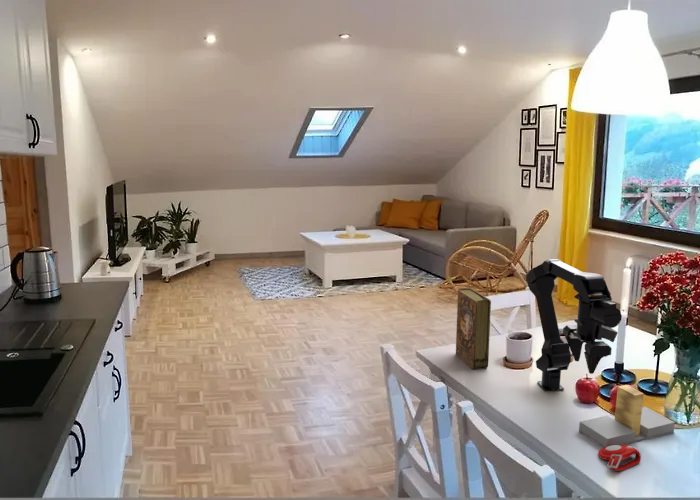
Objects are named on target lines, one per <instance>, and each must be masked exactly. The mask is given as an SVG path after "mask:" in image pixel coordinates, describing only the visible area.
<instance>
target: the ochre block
mask: <svg viewBox="0 0 700 500" xmlns="http://www.w3.org/2000/svg"><path fill="white" fill-rule="evenodd" d="M615 400H616V401H615V411H614V420H616V421H618V422H619V423H621V424H623V425H624V426H626V427H628V428H630V429H631V430H633V431H635V432H636V433H635V435H639V433H640V424H641V414H642V407H643V404H644V403H643V402H644V393H643V392H641V391H639V390H637V389H635V388H633V387H631V386H629V385H628V384H625V385H618V386H617V391H616V399H615Z"/></svg>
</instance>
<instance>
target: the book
mask: <svg viewBox="0 0 700 500" xmlns="http://www.w3.org/2000/svg"><path fill="white" fill-rule="evenodd" d="M491 306H492V301H491V299H490V298H488V297H487V296H485V295H483V294H481V293H479V292H478V291H477V290H475V289H472V288H467V287H465V288H458V289H457V306H456V309H457V312H456V334H455V336H456V338H455V339H456V340H455V356H457V357H458V358H459V359H460V360H461V361H462V362H463V363H465V364H466V365H467V366H468V367H469V368H470V369H472V370H475V369H477V368H486V369H487V368H488V366H489V355H490V335H491V334H490V332H491V330H490V329H491V309H492V307H491Z"/></svg>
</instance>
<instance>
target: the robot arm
mask: <svg viewBox="0 0 700 500" xmlns="http://www.w3.org/2000/svg"><path fill="white" fill-rule="evenodd" d="M557 278H559V279H561V280H562V281H564V282H567V283H568V284H570V285H572V288H573V290H574V291H575V292H576V293H577V294H575V295H573V296H574V299H577V300H578V306H577V317H574V322H575V324H568V325H567V324H566V325H565V326H564V327H563V329H562V330H563V331H562V335H564V338H565V340H566V342H565V341H564V340H562V338H561V334H560V329H559V324H558V319H557V316H556V315H557V314H556V310H555V304H554V300H553V296H552V295H553V291H554V288H555V285H556V284H555V281H556V280H557ZM525 280H526V283H527V286H528V289H529V291H530V292H531V293H532V295H534V297H535V298H536V304H537V308H538V309H537V310H538V315H539V318H540V324H541V328H542V329H541V330H542V335H543V339H544V342H543V344H542V347H541V356H540V357H539V358H537V359H536V360H535V365H536V366H535V367H536V368H537V369H538V370H539V371H541V380H538V381H537V384H538V385H539V387H540V388H541V389H543V391H545V392H546V391H548V392H549V391H551V392H552V391H564V390H565V387H563V386H562V385H561V374H562V371H567V370H568V368H569V365H570V363H571V362H572V357H573V360H574V362H580V358H581V353H582V349H583V344H584V343H585V344H584V352H583V353H584V354H583V355H584V358H585V361H586V366H587V370H588V373H589V374H594V373H595V371H596V369H597V367H598V365H599V363H600V361H601V360H602V358H605V357H606V358H607V357H608V356H611V355H612V349H613V348H612V347H611V346H610V345H609V344H608V343H606V342H605V341H602V339H604V340H607V341H610V342H612V343H614V341H616V338H617V335H618V331H616V330H615V329H614V328H616V327H617V326H619V325H620V323H621V321H622V319H623V318H622V317H623V315H622V312H621V310H620V309H619V308H617V303H615V302H611V301H612V300H613V299H612V296H611V292H610V290H609V288H608V286H607V283H606V280H605V277H603V275H602V274H599V273H594V272H588V271H587V272H584V271H581V270H579V269H578V268H575V267H573V266H571V265H569V264H567V263H564V262H563V261H562V260H561V259H559V258H555V259H553V258H552V259H546V260H544V261H543V262H542V263H540V264H539V265H537V266H535V267H533V268H531V269H529V271H528V272H527V273H526V276H525Z"/></svg>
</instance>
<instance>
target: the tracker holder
mask: <svg viewBox="0 0 700 500" xmlns="http://www.w3.org/2000/svg"><path fill="white" fill-rule="evenodd" d="M597 454H598V456H599V458H600V459H602V460H606V461H608V462H607V465H606V467H607V468H608V469H610V470H612V471H616V472H621V471H624V470H627V469H629V468H631V467H634V466H636V465H638V464H639V463H640V462H641V461H642V460H641V459H642V457H641V455H642V454H641V452H640V451H639V450H638V449H637V448H636V447H634V446H633V445H630V444H626V445H610V446H607V447H602V448H600V449H599V450H598V451H597ZM633 455H634V458H633V459H631V460H629V461H627V462H625V463H622V464H621V465H620V463H621V462H623V461H625V460H627V459H628V458H630V457H631V456H633Z"/></svg>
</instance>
